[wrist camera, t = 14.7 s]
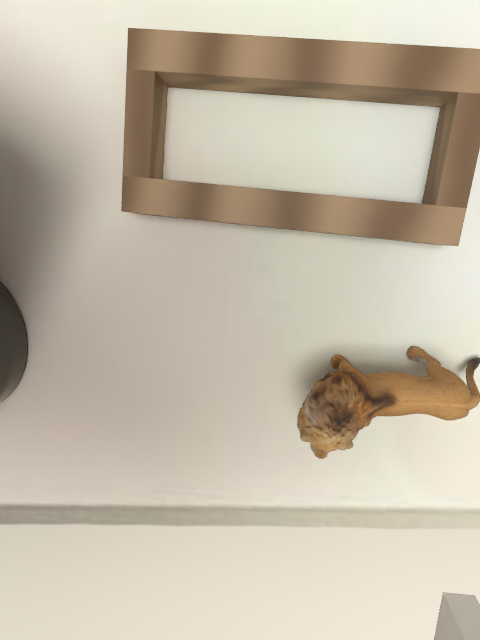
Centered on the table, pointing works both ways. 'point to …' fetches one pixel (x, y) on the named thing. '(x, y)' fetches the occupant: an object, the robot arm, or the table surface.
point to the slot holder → (303, 81)
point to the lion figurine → (380, 399)
